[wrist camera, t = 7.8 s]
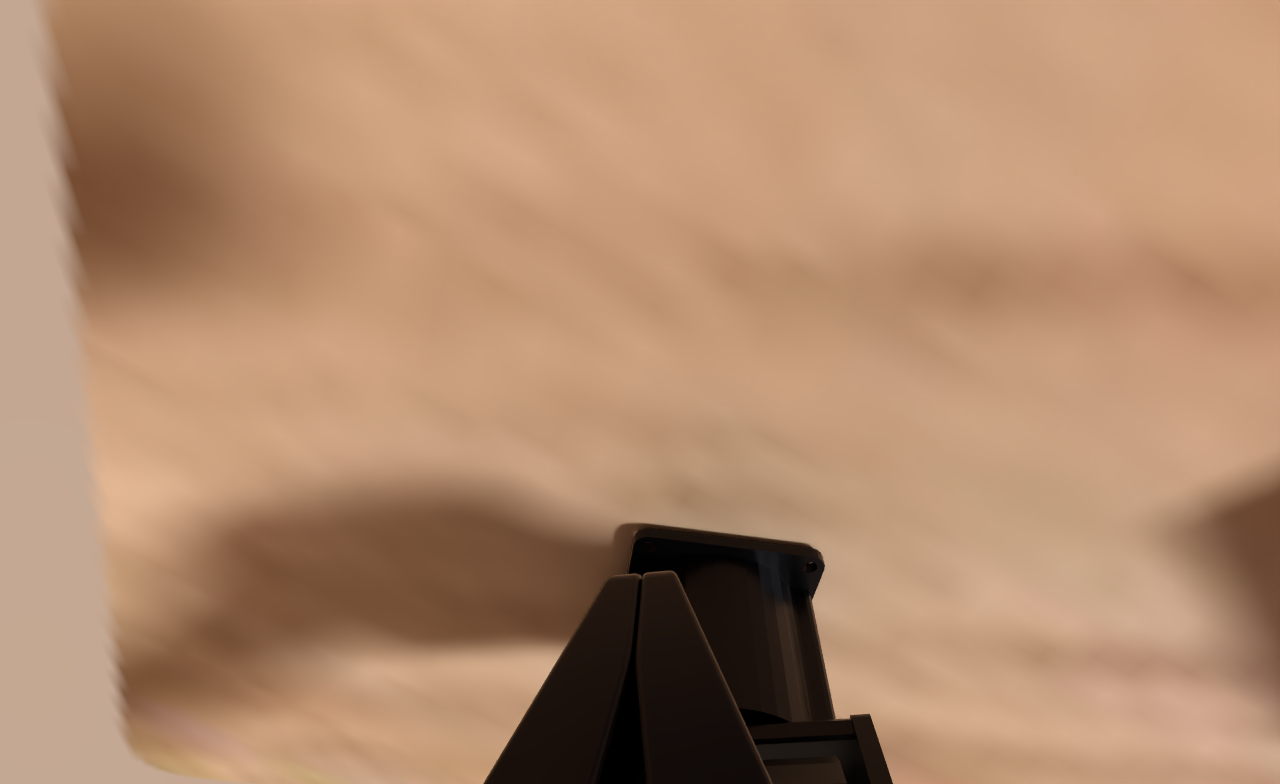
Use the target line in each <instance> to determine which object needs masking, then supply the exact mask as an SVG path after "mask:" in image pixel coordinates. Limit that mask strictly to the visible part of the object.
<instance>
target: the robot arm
mask: <svg viewBox="0 0 1280 784" xmlns="http://www.w3.org/2000/svg"><path fill="white" fill-rule="evenodd" d="M645 542H651V543H653V544H644V543H645ZM807 562H813V563H810V564H805V563H807ZM824 567H825V564H824V560H823V556H822V554H821V552H819V551H818V550H816V549H812V548H805V547H797V546H789V545H781V544H773V543H765V542H756V541H748V540H740V539H732V538H724V537H716V536H708V535H700V534H692V533H684V532H676V531H668V530H660V529H652V528H645V529H642V530H639V531H638V532H637V533H636V534H635V536H634V539H633V544H632V550H631V555H630V561H629V566H628V572H627V574H622V575H613V576H610V577H608V578H607V579H606V581H605V582H604V584H603V586H602V587H601V589H600V590H599V592H598V594H597V595H596V597H595V599H594V600H593V602H592V604H591V605H590V607H589V609H588V610H587V612H586V614H585V615H584V617H583V619H582V620H581V622H580V624H579V625H578V627H577V629H576V630H575V632H574V634H573V635H572V637H571V639H570V640H569V642H568V644H567V645H566V647H565V649H564V650H563V652H562V654H561V655H560V657H559V659H558V660H557V662H556V664H555V665H554V667H553V669H552V670H551V672H550V674H549V675H548V677H547V679H546V680H545V682H544V684H543V685H542V687H541V689H540V690H539V692H538V694H537V695H536V697H535V699H534V700H533V702H532V704H531V705H530V707H529V709H528V710H527V712H526V714H525V715H524V717H523V719H522V720H521V722H520V724H519V725H518V727H517V729H516V730H515V732H514V734H513V735H512V737H511V739H510V740H509V742H508V744H507V745H506V747H505V749H504V750H503V752H502V754H501V755H500V757H499V759H498V760H497V762H496V764H495V765H494V767H493V769H492V770H491V772H490V774H489V775H488V777H487V779H486V780H485V782H484V784H893V782H892V779H891V776H890V773H889V770H888V767H887V764H886V761H885V758H884V755H883V752H882V749H881V746H880V743H879V740H878V737H877V734H876V731H875V728H874V725H873V722H872V719H871V716H870V714H861V715H850V719H835V714H834V709H833V704H832V699H831V694H830V689H829V684H828V679H827V674H826V669H825V664H824V659H823V654H822V649H821V645H820V640H819V635H818V630H817V625H816V620H815V615H814V610H813V605H812V599H813V596H814V594H815V591H816V589H817V586H818V584H819V581H820V579H821V576H822V574H823V571H824Z"/></svg>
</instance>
